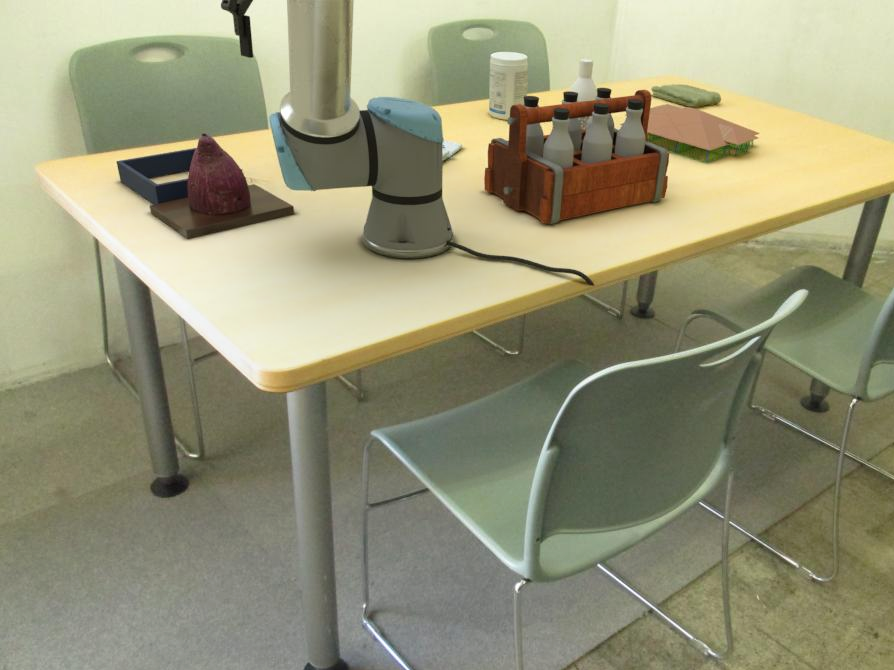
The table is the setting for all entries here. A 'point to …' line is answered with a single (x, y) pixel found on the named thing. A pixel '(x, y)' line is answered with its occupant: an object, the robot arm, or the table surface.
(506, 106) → the supplement tub
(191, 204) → the vegetable
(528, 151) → the milk bottle holder
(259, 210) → the cutting board
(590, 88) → the bath foam
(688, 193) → the table surface
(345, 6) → the robot arm
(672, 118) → the house
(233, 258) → the table surface
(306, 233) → the table surface
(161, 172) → the square frame
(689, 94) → the washcloth
